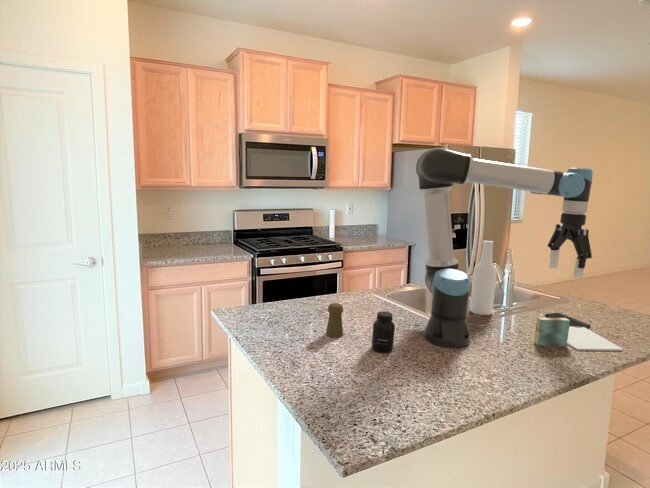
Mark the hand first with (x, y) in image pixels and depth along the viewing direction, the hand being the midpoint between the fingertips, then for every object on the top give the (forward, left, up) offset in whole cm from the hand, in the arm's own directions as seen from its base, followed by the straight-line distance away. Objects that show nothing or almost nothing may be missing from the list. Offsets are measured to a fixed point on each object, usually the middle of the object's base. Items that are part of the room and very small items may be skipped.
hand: (564, 272), depth 148 cm
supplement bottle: (-68, -16, -23) cm, 73 cm away
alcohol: (-20, +21, -23) cm, 37 cm away
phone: (+11, +12, -23) cm, 28 cm away
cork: (-82, -5, -23) cm, 85 cm away
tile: (-9, -10, -23) cm, 26 cm away
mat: (+5, -5, -23) cm, 24 cm away
